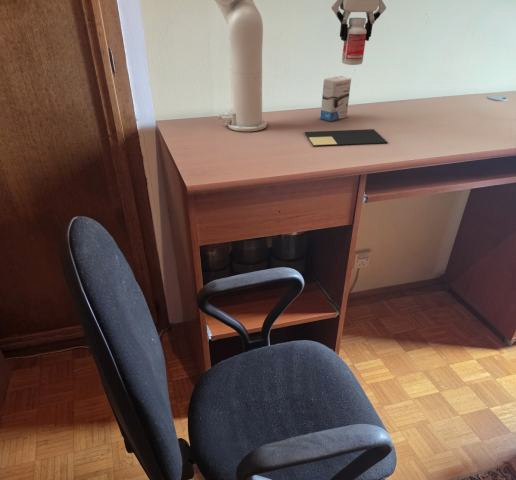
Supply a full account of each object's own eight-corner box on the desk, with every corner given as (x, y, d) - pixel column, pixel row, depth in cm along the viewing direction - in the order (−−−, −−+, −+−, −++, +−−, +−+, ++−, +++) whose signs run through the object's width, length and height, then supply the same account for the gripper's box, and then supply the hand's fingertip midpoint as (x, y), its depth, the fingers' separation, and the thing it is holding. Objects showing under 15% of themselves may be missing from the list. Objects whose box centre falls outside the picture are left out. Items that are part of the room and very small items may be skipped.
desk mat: (313, 146, 130) (313, 144, 129) (304, 133, 139) (304, 131, 139) (387, 143, 131) (387, 141, 131) (373, 130, 141) (373, 128, 141)
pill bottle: (366, 64, 134) (373, 18, 127) (351, 66, 132) (357, 19, 124) (352, 60, 138) (357, 16, 131) (337, 62, 135) (342, 17, 128)
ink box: (330, 121, 149) (334, 81, 141) (319, 118, 151) (322, 78, 144) (347, 117, 153) (352, 77, 145) (336, 114, 156) (340, 75, 148)
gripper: (391, -41, 123) (378, 38, 135) (329, -42, 121) (322, 38, 133) (401, -41, 117) (387, 42, 129) (337, -42, 115) (329, 42, 127)
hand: (354, 39), depth 131 cm, fingers closed on pill bottle, 6 cm apart
